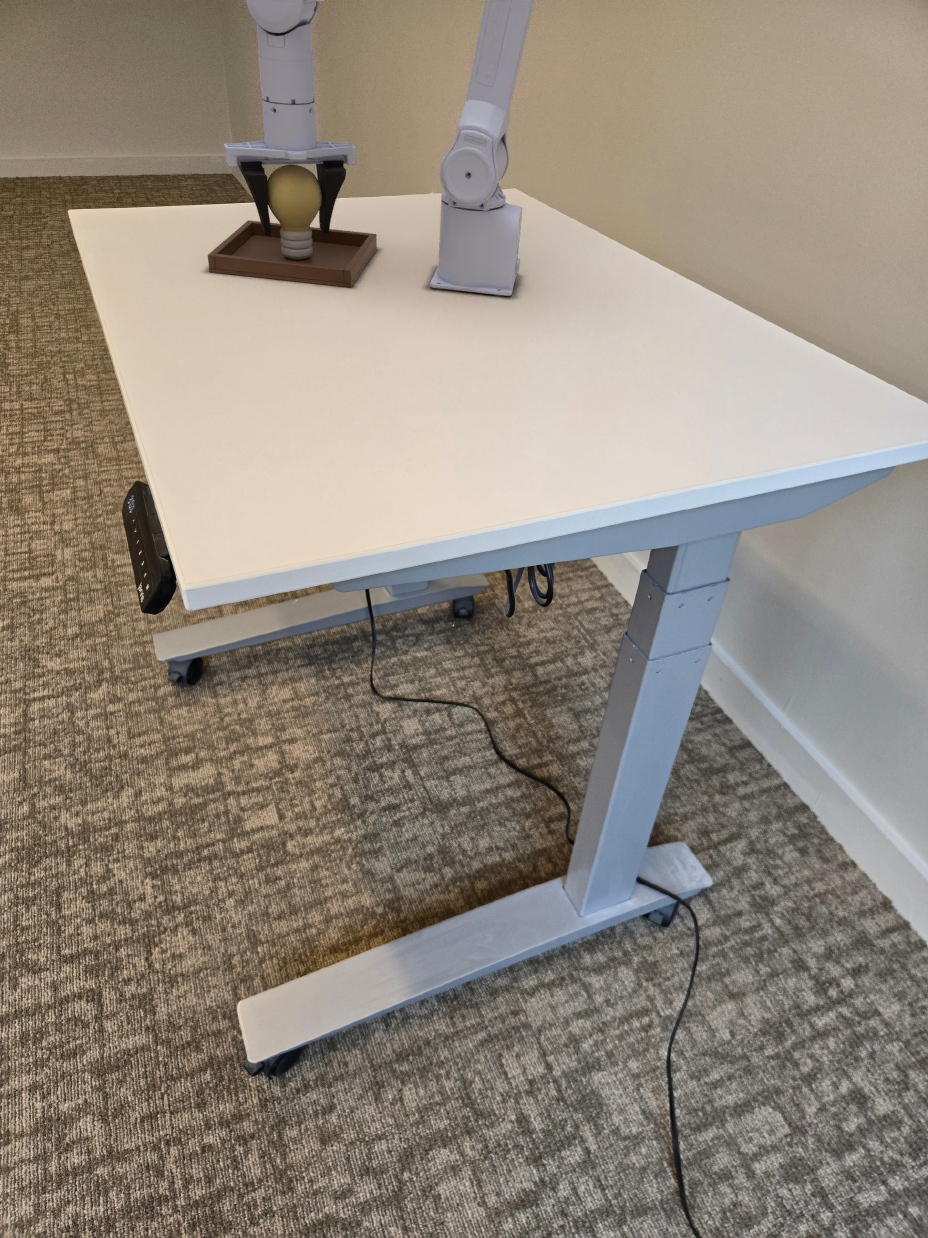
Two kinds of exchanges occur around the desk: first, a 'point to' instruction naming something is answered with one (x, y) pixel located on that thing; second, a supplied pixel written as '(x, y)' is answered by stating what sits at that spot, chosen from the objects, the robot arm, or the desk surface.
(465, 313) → the desk surface
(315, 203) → the light bulb
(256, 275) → the tray
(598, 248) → the desk surface
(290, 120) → the robot arm
